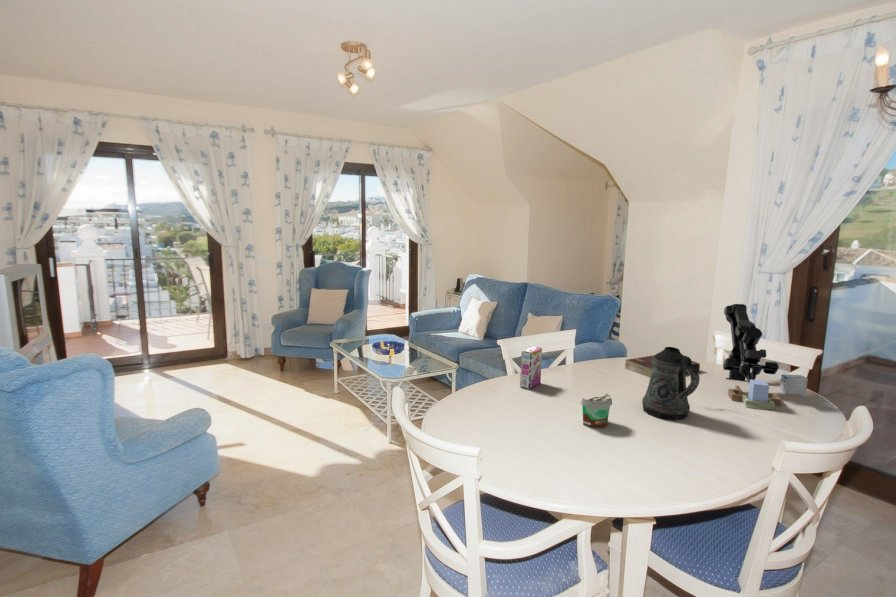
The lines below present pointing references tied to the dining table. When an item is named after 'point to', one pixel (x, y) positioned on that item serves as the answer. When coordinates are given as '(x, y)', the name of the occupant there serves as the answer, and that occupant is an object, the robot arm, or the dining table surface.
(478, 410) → the dining table surface
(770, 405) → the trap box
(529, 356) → the candy bar box
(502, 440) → the dining table surface
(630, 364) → the hardback book
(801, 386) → the medicine box
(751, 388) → the block
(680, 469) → the dining table surface
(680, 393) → the beer stein
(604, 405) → the food container
